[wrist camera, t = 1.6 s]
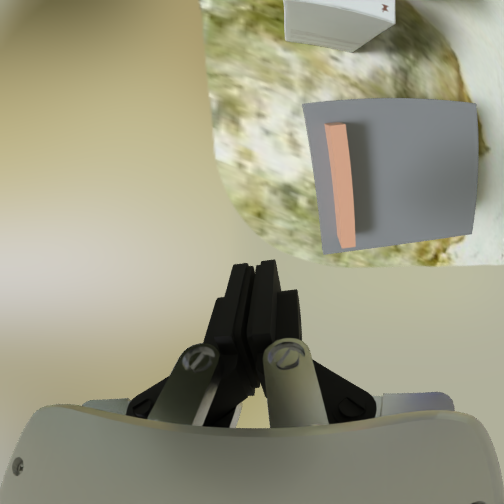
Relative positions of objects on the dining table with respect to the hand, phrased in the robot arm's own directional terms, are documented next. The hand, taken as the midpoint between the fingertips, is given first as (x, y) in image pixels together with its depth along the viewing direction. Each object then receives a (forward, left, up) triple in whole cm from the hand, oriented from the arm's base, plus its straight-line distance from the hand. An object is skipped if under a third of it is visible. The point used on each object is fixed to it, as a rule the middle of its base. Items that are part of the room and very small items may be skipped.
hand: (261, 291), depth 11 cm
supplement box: (-8, -17, -21) cm, 28 cm away
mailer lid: (-12, 0, -14) cm, 19 cm away
